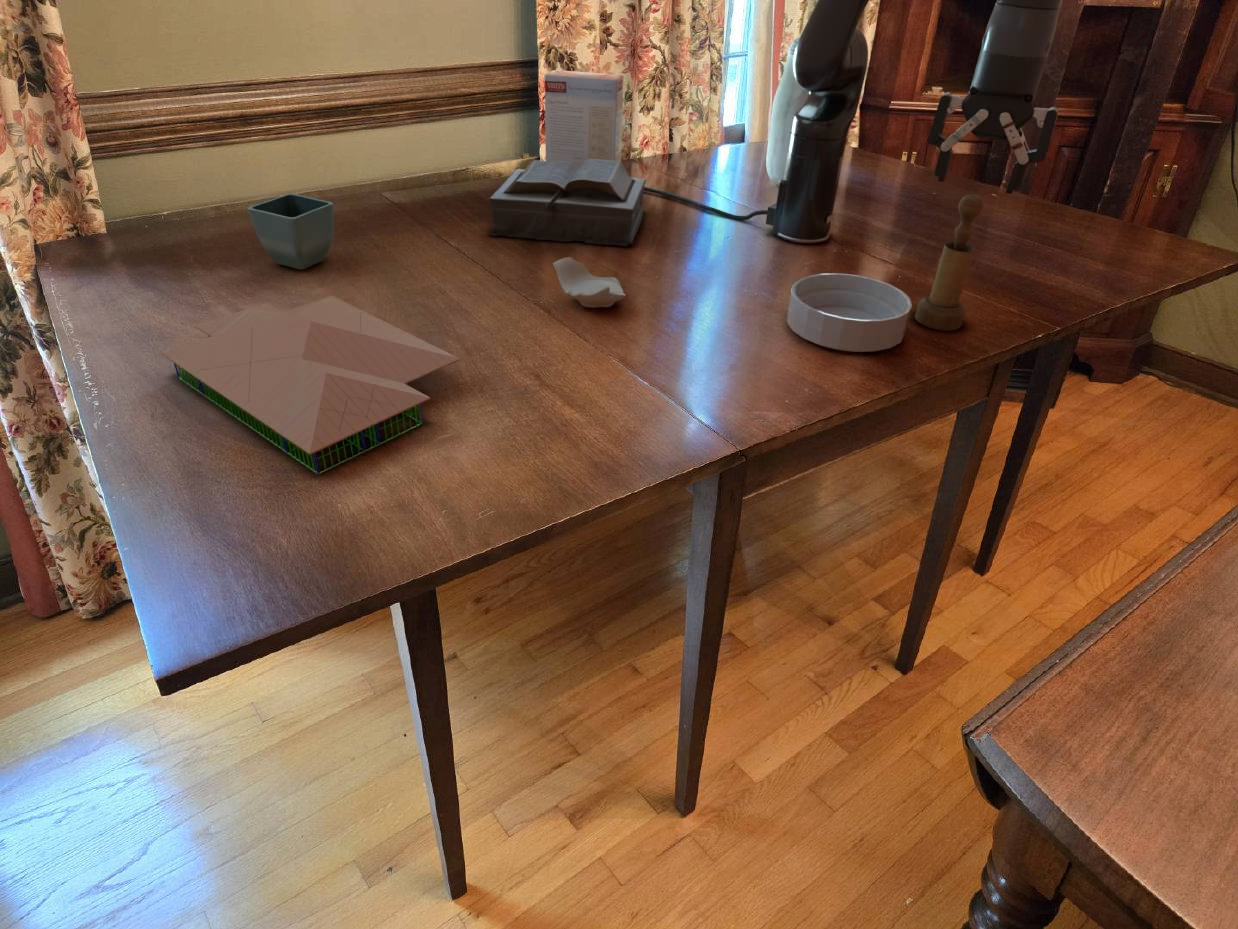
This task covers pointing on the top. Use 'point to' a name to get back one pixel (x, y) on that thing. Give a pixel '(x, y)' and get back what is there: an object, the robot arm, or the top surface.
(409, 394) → the house
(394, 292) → the top surface
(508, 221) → the bible
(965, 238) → the mortar and pestle
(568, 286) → the pottery shard
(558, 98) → the cracker box
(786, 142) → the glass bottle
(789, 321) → the pan
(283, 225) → the flower pot
